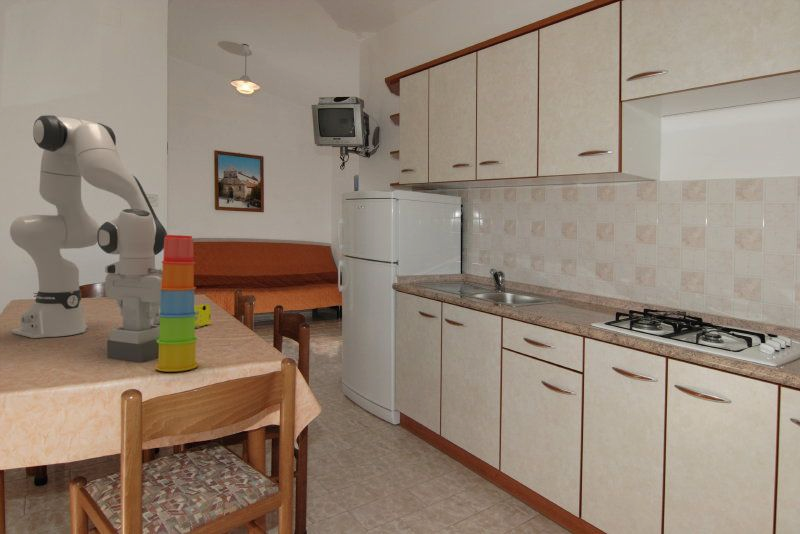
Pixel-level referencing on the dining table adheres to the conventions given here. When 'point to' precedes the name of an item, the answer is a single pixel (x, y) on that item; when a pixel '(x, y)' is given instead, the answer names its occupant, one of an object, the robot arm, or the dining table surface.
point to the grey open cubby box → (133, 344)
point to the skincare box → (135, 314)
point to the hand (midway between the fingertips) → (138, 317)
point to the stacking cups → (177, 306)
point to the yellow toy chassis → (202, 315)
